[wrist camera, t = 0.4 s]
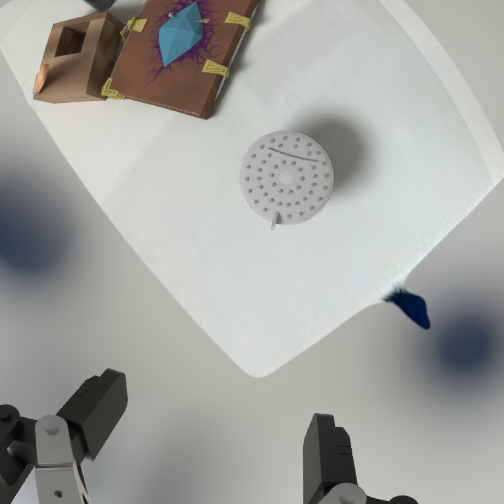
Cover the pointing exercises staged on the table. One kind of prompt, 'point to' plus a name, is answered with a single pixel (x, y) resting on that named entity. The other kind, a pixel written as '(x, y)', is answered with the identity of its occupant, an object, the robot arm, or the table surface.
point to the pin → (100, 4)
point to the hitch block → (80, 58)
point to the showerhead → (286, 178)
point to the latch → (40, 78)
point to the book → (180, 53)
